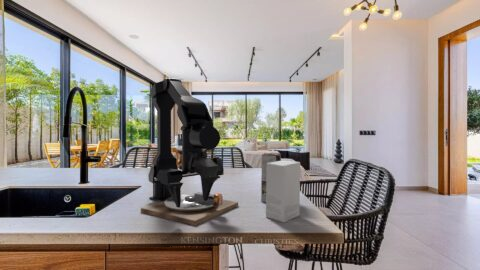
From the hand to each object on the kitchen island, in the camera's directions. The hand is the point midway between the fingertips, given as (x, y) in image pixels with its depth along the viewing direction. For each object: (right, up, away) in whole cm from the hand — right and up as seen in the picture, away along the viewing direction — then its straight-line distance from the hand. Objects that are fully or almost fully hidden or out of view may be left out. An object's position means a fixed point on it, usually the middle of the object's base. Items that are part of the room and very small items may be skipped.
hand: (192, 203), depth 74 cm
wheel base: (-2, -4, +9) cm, 10 cm away
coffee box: (+24, -4, +21) cm, 33 cm away
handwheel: (-1, -2, +8) cm, 9 cm away
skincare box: (+25, -4, +2) cm, 26 cm away
